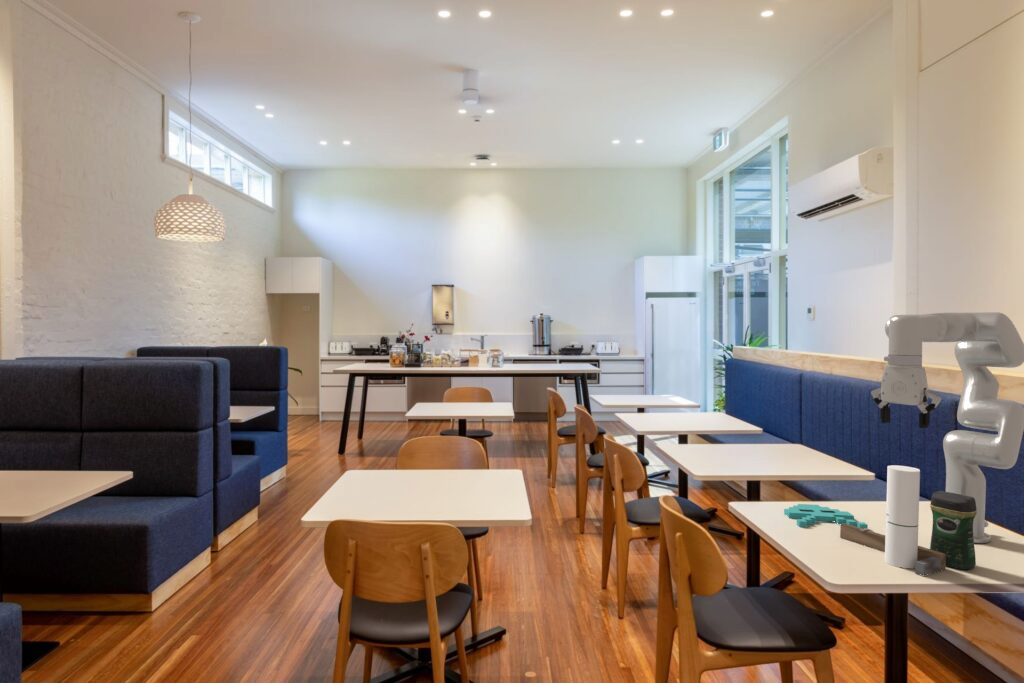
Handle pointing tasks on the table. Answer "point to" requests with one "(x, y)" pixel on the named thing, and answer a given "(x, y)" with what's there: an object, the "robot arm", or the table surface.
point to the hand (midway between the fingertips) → (904, 425)
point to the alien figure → (820, 515)
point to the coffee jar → (954, 528)
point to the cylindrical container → (902, 516)
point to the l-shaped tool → (926, 557)
